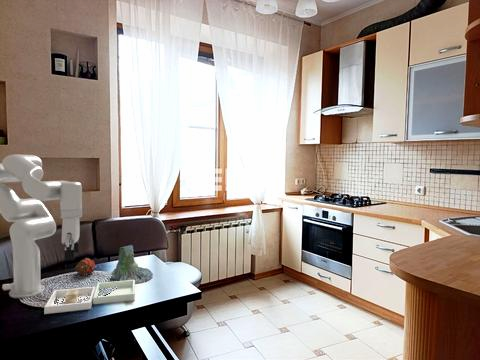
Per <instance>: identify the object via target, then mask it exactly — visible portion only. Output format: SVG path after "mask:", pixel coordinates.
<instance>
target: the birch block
mask: <svg viewBox="0 0 480 360" xmlns="http://www.w3.org/2000/svg"><path fill="white" fill-rule="evenodd" d="M77 302H78V290H74V291H67V293H66V295H65V304H71V303H77Z"/></svg>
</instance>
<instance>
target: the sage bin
mask: <svg viewBox="0 0 480 360" xmlns="http://www.w3.org/2000/svg"><path fill="white" fill-rule="evenodd" d="M96 284H97V285H96V286H95V287H96V290H95V293H94V297H93V303H92V305H100V304H110V303H117V302H124V303H125V302H126V303H128V302H133V301H135V297H136V296H135V293H136V292H135V291H136V289H135V288H136V284H135V280H126V281H116V280H114V281H107V282H97V283H96ZM110 287H111V288H112V287H118V288H117V289H115V290H114V291H112V292H111V293H110V294H108V295H106V296H98V293H99V289H100V288H110ZM97 296H98V297H97Z"/></svg>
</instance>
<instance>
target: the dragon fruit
mask: <svg viewBox="0 0 480 360" xmlns="http://www.w3.org/2000/svg"><path fill="white" fill-rule="evenodd" d="M74 268H75V271H76V272H77V273H78V274H80V275H83V276H87V275H86V274H88V275H89V274H92V273H94V272H95V268H96V264H95V261H94V260H93V259H90V258H89V257H85V258H83V259H82V260H80V261H79V262H78V263H77V264H76V266H75V267H74Z"/></svg>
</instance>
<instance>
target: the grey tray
mask: <svg viewBox="0 0 480 360" xmlns="http://www.w3.org/2000/svg"><path fill="white" fill-rule="evenodd" d="M96 287H97V286H88V287H86V286H85V287H74V288H67V289H66V288H65V289H64V288H63V289H54V290H53V292H52V294H51V296H50V297H49V299H48V300H47V302H46V304H45V305H44V309H43V310H44V311H43V312H44V313H43V314H44V315H47V314H48V315H49V314H57V313H58V314H59V313H66V312H77V311H84V310H91V309H92V305H93V297H94V293H95V290H96ZM74 290H78V296H79V295H80V296H79V297H78V299H79V300H80V299H82V300H83V299H84V298H85V299H86V298H87V297H88V298H89V297H90V299H89V300H88V301H85V302H84V300H83V301H82V302H81V303H71V304H59V303H62V302H61V301H63V300H62V299H64V301H63V302H65V298H64V297H65V295H66V293H67V291H74ZM90 293H91V296H88V295H84V294H90ZM81 294H83V295H84V296H83V295H81ZM86 296H87V297H86ZM56 297H58V298H59V299H58V298H57V299H58V300H59V301H57V302H59V303H58V305H57V303H56V304H54V300H55V299H56ZM80 297H81V298H80ZM86 300H87V299H86Z"/></svg>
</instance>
